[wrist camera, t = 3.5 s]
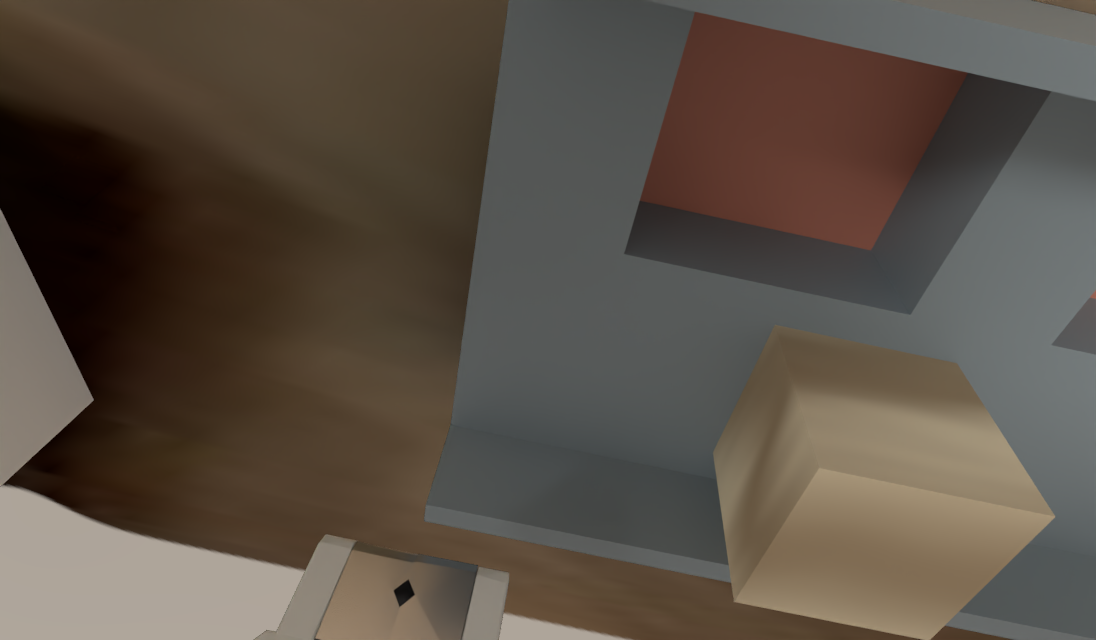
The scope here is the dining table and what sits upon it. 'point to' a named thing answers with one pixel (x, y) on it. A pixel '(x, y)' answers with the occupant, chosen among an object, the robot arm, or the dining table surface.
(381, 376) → the dining table surface
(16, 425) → the milk
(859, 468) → the block
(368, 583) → the robot arm
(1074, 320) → the box
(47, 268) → the dining table surface
